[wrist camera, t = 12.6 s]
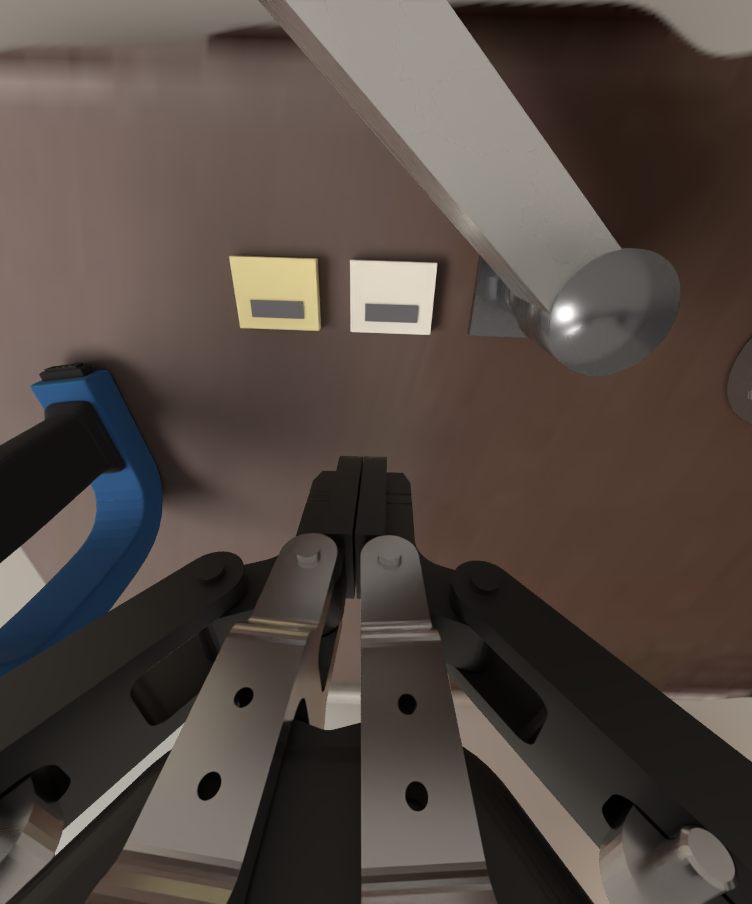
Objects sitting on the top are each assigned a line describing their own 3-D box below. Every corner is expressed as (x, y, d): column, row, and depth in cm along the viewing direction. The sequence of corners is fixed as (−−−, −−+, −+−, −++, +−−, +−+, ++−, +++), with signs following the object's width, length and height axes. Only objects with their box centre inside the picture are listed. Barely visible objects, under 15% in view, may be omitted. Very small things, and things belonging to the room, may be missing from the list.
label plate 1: (317, 258, 22) (315, 259, 21) (321, 327, 24) (318, 331, 23) (234, 255, 22) (228, 256, 21) (244, 325, 24) (239, 328, 23)
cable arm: (629, 293, 17) (703, 312, 13) (549, 362, 19) (592, 397, 15) (245, -231, 11) (153, -524, 6) (177, -51, 12) (70, -192, 8)
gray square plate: (592, 227, 21) (645, 225, 16) (561, 336, 24) (599, 359, 19) (484, 223, 21) (508, 221, 16) (467, 333, 24) (484, 355, 19)
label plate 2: (435, 262, 22) (437, 263, 21) (428, 331, 24) (430, 335, 23) (351, 259, 22) (349, 260, 21) (351, 329, 24) (350, 332, 23)
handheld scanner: (95, 330, 24) (-577, 547, 8) (187, 515, 33) (-41, 818, 16) (34, 337, 25) (-723, 557, 8) (139, 518, 33) (-130, 814, 16)
